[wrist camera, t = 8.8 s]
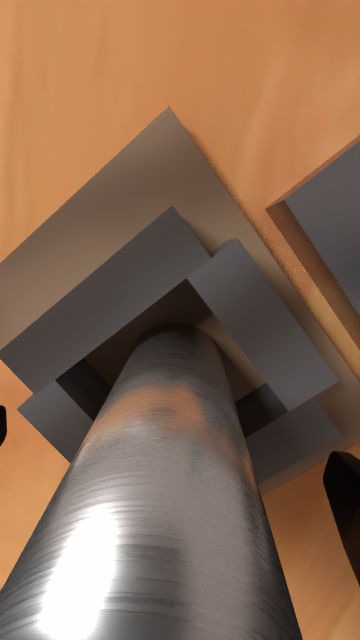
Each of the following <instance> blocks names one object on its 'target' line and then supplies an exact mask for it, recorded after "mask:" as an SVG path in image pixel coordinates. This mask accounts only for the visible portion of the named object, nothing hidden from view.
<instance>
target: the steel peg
mask: <svg viewBox="0 0 360 640" xmlns="http://www.w3.org/2000/svg"><path fill="white" fill-rule="evenodd" d="M0 640H303V639H302V635H301V632H300V628H299V625H298V621H297V618H296V615H295V611H294V608H293V604H292V601H291V597H290V594H289V590H288V587H287V583H286V580H285V576H284V573H283V570H282V566H281V563H280V559H279V556H278V552H277V549H276V545H275V542H274V538H273V535H272V531H271V528H270V525H269V521H268V518H267V514H266V511H265V507H264V504H263V500H262V497H261V493H260V490H259V486H258V483H257V480H256V476H255V473H254V469H253V466H252V462H251V459H250V455H249V452H248V448H247V445H246V442H245V438H244V435H243V431H242V428H241V424H240V421H239V417H238V414H237V410H236V407H235V403H234V400H233V397H232V393H231V390H230V386H229V383H228V379H227V376H226V372H225V369H224V365H223V362H222V358H221V355H220V352H219V349H218V347H217V345H216V344H215V342H214V341H213V340H212V338H211V337H210V336H209V335H208V334H206V333H205V332H204V331H202V330H201V329H199V328H197V327H195V326H193V325H190V324H185V323H177V322H175V323H166V324H162V325H159V326H157V327H155V328H153V329H151V330H150V331H148V332H147V333H146V334H145V335H143V336H142V338H141V339H140V340H139V341H138V343H137V344H136V346H135V348H134V350H133V352H132V354H131V355H130V357H129V359H128V361H127V363H126V364H125V366H124V368H123V370H122V372H121V374H120V375H119V377H118V379H117V381H116V383H115V384H114V386H113V388H112V390H111V392H110V393H109V395H108V397H107V399H106V401H105V403H104V404H103V406H102V408H101V410H100V412H99V413H98V415H97V417H96V419H95V421H94V423H93V424H92V426H91V428H90V430H89V432H88V433H87V435H86V437H85V439H84V441H83V443H82V444H81V446H80V448H79V450H78V452H77V453H76V455H75V457H74V459H73V461H72V463H71V464H70V466H69V468H68V470H67V472H66V473H65V475H64V477H63V479H62V481H61V483H60V484H59V486H58V488H57V490H56V492H55V493H54V495H53V497H52V499H51V501H50V503H49V504H48V506H47V508H46V510H45V512H44V513H43V515H42V517H41V519H40V521H39V522H38V524H37V526H36V528H35V530H34V532H33V533H32V535H31V537H30V539H29V541H28V542H27V544H26V546H25V548H24V550H23V552H22V553H21V555H20V557H19V559H18V561H17V562H16V564H15V566H14V568H13V570H12V572H11V573H10V575H9V577H8V579H7V581H6V582H5V584H4V586H3V588H2V590H1V592H0Z"/></svg>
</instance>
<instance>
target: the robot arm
mask: <svg viewBox="0 0 360 640" xmlns="http://www.w3.org/2000/svg"><path fill="white" fill-rule="evenodd" d="M6 434H7V420H6V409H5V407H4V406H2V405H0V446H1V445H2V443H3V442H4V440H5V437H6ZM323 483H324V487H325V490H326V493H327V497H328V500H329V503H330V506H331V509H332V512H333V516H334V519H335V522H336V525H337V528H338V531H339V535H340V538H341V541H342V543H343V546H344V549H345V551H346V554H347V557H348V559H349V561H350V564H351V566H352V569H353V571H354V574H355V576H356V578H357V581H358V583H359V586H360V460H359V459H357V458H356V457H354V456H353V455H351V454H350V453H347V452H341V451H332V452H331V453H330V455H329V458H328V461H327V465H326V468H325V471H324V475H323Z"/></svg>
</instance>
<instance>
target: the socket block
mask: <svg viewBox="0 0 360 640" xmlns="http://www.w3.org/2000/svg"><path fill="white" fill-rule="evenodd" d="M266 211H267V212H268V214H269V215H270V217H271V218H272V220H273V221H274V223H275V224H276V226H277V227H278V229H279V230H280V232H281V233H282V235H283V236H284V238H285V239H286V241H287V242H288V244H289V245H290V247H291V248H292V250H293V251H294V253H295V254H296V256H297V257H298V259H299V260H300V262H301V263H302V264H303V266H304V267H305V269H306V270H307V272H308V273H309V275H310V276H311V278H312V279H313V281H314V282H315V284H316V285H317V287H318V288H319V290H320V291H321V293H322V294H323V296H324V297H325V299H326V300H327V302H328V303H329V305H330V306H331V308H332V309H333V311H334V312H335V314H336V315H337V317H338V318H339V320H340V321H341V323H342V324H343V326H344V327H345V329H346V330H347V332H348V333H349V335H350V336H351V338H352V339H353V341H354V342H355V344H356V345H357V347H358V348H359V349H360V136H358V137H357V138H356V139H354V140H353V141H352V142H351V143H349V144H348V145H347V146H345V147H344V148H343V149H342V150H340V151H339V152H338V153H336V154H335V155H334V156H333V157H331V158H330V159H329V160H327V161H326V162H325V163H324V164H322V165H321V166H320V167H319V168H317V169H316V170H315V171H313V172H312V173H311V174H310V175H308V176H307V177H306V178H304V179H303V180H302V181H301V182H299V183H298V184H297V185H295V186H294V187H293V188H292V189H290V190H289V191H288V192H286V193H285V194H284V195H283V196H281V197H280V198H279V199H277V200H276V201H275V202H274V203H272V204H271V205H270V206H268V207H267V208H266Z"/></svg>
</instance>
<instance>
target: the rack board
mask: <svg viewBox="0 0 360 640" xmlns="http://www.w3.org/2000/svg"><path fill="white" fill-rule="evenodd" d="M175 322H177V323H185V324H190V325H193V326H195V327H197V328H199V329H201V330H202V331H204V332H205V333H206V334H208V335H209V336H210V337H211V338H212V340H213V341H214V342H215V344H216V345H217V347H218V349H219V352H220V355H221V358H222V362H223V365H224V369H225V372H226V376H227V379H228V383H229V386H230V390H231V393H232V397H233V400H234V403H235V407H236V410H237V414H238V417H239V421H240V424H241V428H242V431H243V435H244V438H245V442H246V445H247V448H248V452H249V455H250V459H251V462H252V466H253V469H254V473H255V476H256V480H257V483H258V486H259V490H260V493H261V496H262V495H263V494H265V493H267V492H269V491H271V490H272V489H274V488H276V487H278V486H280V485H281V484H283V483H285V482H287V481H289V480H290V479H292V478H294V477H296V476H298V475H299V474H301V473H303V472H305V471H306V470H308V469H310V468H312V467H314V466H315V465H317V464H319V463H321V462H323V461H324V460H326V459H328V458H329V455H330V453H331V452H332V451H342V450H344V449H346V448H348V447H350V446H351V445H353V444H355V443H357V442H359V441H360V382H359V381H358V379H357V378H356V377H355V375H354V374H353V372H352V371H351V369H350V368H349V366H348V365H347V363H346V362H345V361H344V359H343V358H342V356H341V355H340V353H339V352H338V350H337V349H336V348H335V346H334V345H333V343H332V342H331V340H330V339H329V337H328V336H327V334H326V333H325V332H324V330H323V329H322V327H321V326H320V324H319V323H318V321H317V320H316V318H315V317H314V316H313V314H312V313H311V311H310V310H309V308H308V307H307V305H306V304H305V303H304V301H303V300H302V298H301V297H300V295H299V294H298V292H297V291H296V289H295V288H294V287H293V285H292V284H291V282H290V281H289V279H288V278H287V276H286V275H285V273H284V272H283V271H282V269H281V268H280V266H279V265H278V263H277V262H276V260H275V259H274V258H273V256H272V255H271V253H270V252H269V250H268V249H267V247H266V246H265V244H264V243H263V242H262V240H261V239H260V237H259V236H258V234H257V233H256V231H255V230H254V228H253V227H252V226H251V224H250V223H249V221H248V220H247V218H246V217H245V215H244V214H243V213H242V211H241V210H240V208H239V207H238V205H237V204H236V202H235V201H234V199H233V198H232V197H231V195H230V194H229V192H228V191H227V189H226V188H225V186H224V185H223V183H222V182H221V181H220V179H219V178H218V176H217V175H216V173H215V172H214V170H213V169H212V167H211V166H210V165H209V163H208V162H207V160H206V159H205V157H204V156H203V154H202V153H201V152H200V150H199V149H198V147H197V146H196V144H195V143H194V141H193V140H192V138H191V137H190V136H189V134H188V133H187V131H186V130H185V128H184V127H183V125H182V124H181V122H180V121H179V120H178V118H177V117H176V115H175V114H174V112H173V111H172V109H171V108H170V107H168V108H167V109H165V110H164V111H163V112H162V113H161V114H160V115H159V116H158V117H157V118H156V119H155V120H154V121H153V122H151V123H150V124H149V125H148V126H147V127H146V128H145V129H144V130H143V131H142V132H141V133H140V134H139V135H137V136H136V137H135V138H134V139H133V140H132V141H131V142H130V143H129V144H128V145H127V146H126V147H125V148H124V149H122V150H121V151H120V152H119V153H118V154H117V155H116V156H115V157H114V158H113V159H112V160H111V161H110V162H108V163H107V164H106V165H105V166H104V167H103V168H102V169H101V170H100V171H99V172H98V173H97V174H96V175H95V176H93V177H92V178H91V179H90V180H89V181H88V182H87V183H86V184H85V185H84V186H83V187H82V188H81V189H79V190H78V191H77V192H76V193H75V194H74V195H73V196H72V197H71V198H70V199H69V200H68V201H67V202H65V203H64V204H63V205H62V206H61V207H60V208H59V209H58V210H57V211H56V212H55V213H54V214H53V215H52V216H50V217H49V218H48V219H47V220H46V221H45V222H44V223H43V224H42V225H41V226H40V227H39V228H38V229H36V230H35V231H34V232H33V233H32V234H31V235H30V236H29V237H28V238H27V239H26V240H25V241H24V242H22V243H21V244H20V245H19V246H18V247H17V248H16V249H15V250H14V251H13V252H12V253H11V254H10V255H9V256H7V257H6V258H5V259H4V260H3V261H2V262H1V263H0V359H1V360H2V361H3V362H4V363H5V364H6V365H7V366H8V367H9V368H10V369H11V370H12V372H13V373H14V374H15V375H16V376H17V377H18V378H19V379H20V380H21V381H22V382H23V383H24V384H25V385H26V386H27V387H28V388H29V389H30V390H31V391H32V392H33V393H34V394H33V395H32V396H30V397H29V398H28V399H27V400H26V401H25V402H24V403H23V404H22V405H21V406H20V407H19V408H18V409H17V410H18V411H19V412H20V413H21V414H22V415H23V416H24V417H25V418H26V419H27V420H28V421H29V422H30V423H31V424H32V425H33V426H34V427H35V428H36V429H37V430H38V431H39V432H40V433H41V434H42V435H43V436H44V437H45V438H46V439H47V440H48V441H49V442H50V443H51V444H52V445H53V446H54V447H55V448H56V449H57V450H58V451H59V452H60V453H61V454H62V455H63V456H64V457H65V458H66V459H67V460H68V461H69V462H70V463H72V461H73V459H74V457H75V455H76V453H77V452H78V450H79V448H80V446H81V444H82V443H83V441H84V439H85V437H86V435H87V433H88V432H89V430H90V428H91V426H92V424H93V423H94V421H95V419H96V417H97V415H98V413H99V412H100V410H101V408H102V406H103V404H104V403H105V401H106V399H107V397H108V395H109V393H110V392H111V390H112V388H113V386H114V384H115V383H116V381H117V379H118V377H119V375H120V374H121V372H122V370H123V368H124V366H125V364H126V363H127V361H128V359H129V357H130V355H131V354H132V352H133V350H134V348H135V346H136V344H137V343H138V341H139V340H140V339H141V338H142V336H143V335H145V334H146V333H147V332H148V331H150V330H151V329H153V328H155V327H157V326H159V325H162V324H166V323H175Z"/></svg>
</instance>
